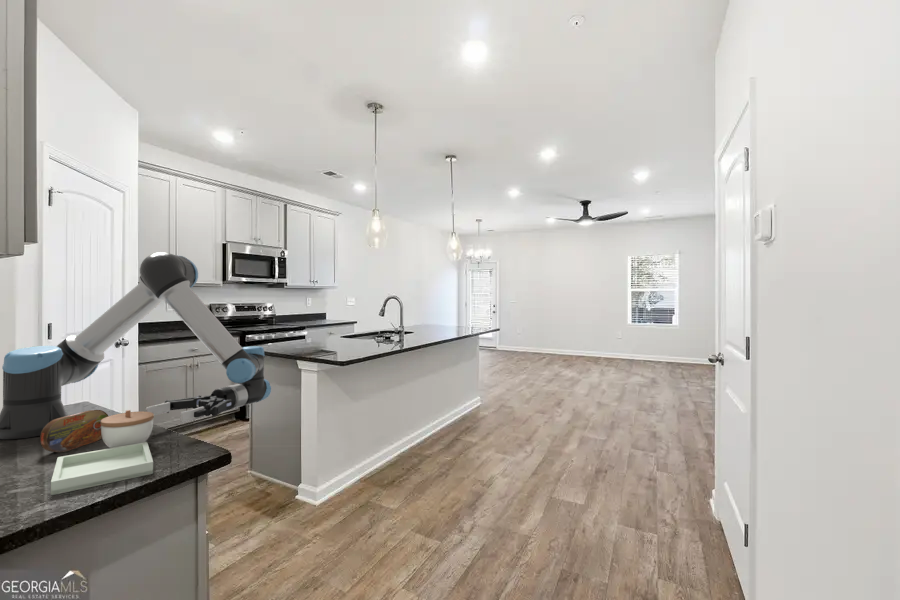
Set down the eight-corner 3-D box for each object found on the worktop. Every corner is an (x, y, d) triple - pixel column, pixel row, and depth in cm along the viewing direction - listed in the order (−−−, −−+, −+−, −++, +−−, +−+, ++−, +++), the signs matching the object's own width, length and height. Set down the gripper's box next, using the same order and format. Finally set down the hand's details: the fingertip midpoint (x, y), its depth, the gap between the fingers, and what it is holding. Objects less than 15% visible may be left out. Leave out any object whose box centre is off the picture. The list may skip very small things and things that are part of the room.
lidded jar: (151, 450, 104) (152, 412, 104) (96, 458, 98) (96, 418, 98) (154, 437, 113) (155, 403, 113) (104, 444, 107) (104, 408, 107)
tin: (47, 457, 98) (47, 422, 98) (36, 456, 99) (37, 421, 99) (110, 437, 113) (111, 406, 113) (101, 436, 113) (101, 405, 113)
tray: (57, 468, 91) (57, 457, 91) (146, 452, 102) (147, 441, 102) (50, 495, 79) (50, 481, 79) (153, 473, 90) (153, 461, 90)
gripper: (258, 413, 130) (196, 433, 110) (199, 405, 138) (132, 423, 118) (258, 389, 130) (197, 405, 110) (200, 383, 138) (132, 397, 118)
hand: (163, 414), depth 114 cm, fingers open, 13 cm apart
